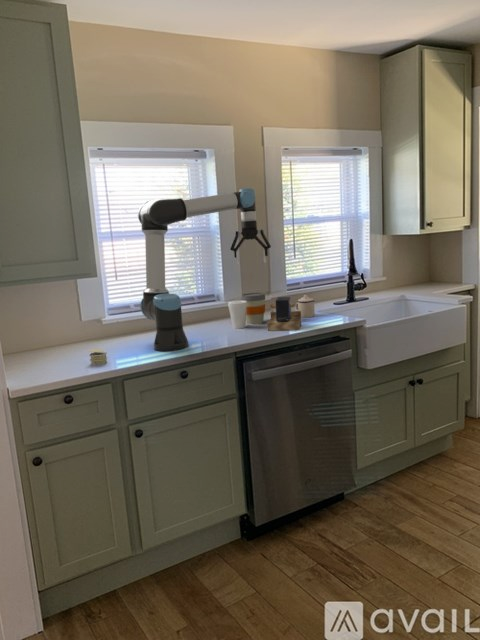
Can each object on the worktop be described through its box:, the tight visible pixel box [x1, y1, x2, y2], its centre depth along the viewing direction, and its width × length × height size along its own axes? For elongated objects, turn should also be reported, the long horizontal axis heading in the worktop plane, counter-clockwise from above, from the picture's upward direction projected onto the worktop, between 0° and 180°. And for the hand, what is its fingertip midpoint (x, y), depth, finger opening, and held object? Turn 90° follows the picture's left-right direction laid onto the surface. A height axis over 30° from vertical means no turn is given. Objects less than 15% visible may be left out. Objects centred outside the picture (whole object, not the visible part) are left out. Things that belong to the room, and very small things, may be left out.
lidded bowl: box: [270, 301, 296, 313], centre depth 283 cm, size 13×13×11 cm
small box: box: [274, 296, 291, 321], centre depth 263 cm, size 11×6×10 cm, turn 169°
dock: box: [266, 310, 302, 332], centre depth 265 cm, size 15×13×7 cm
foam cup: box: [227, 300, 247, 329], centre depth 274 cm, size 10×9×13 cm
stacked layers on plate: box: [88, 348, 109, 366], centre depth 220 cm, size 10×9×6 cm
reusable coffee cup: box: [241, 292, 266, 325], centre depth 285 cm, size 13×13×15 cm
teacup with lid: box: [295, 294, 316, 319], centre depth 293 cm, size 12×9×12 cm
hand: (251, 263), depth 271 cm, fingers open, 13 cm apart
